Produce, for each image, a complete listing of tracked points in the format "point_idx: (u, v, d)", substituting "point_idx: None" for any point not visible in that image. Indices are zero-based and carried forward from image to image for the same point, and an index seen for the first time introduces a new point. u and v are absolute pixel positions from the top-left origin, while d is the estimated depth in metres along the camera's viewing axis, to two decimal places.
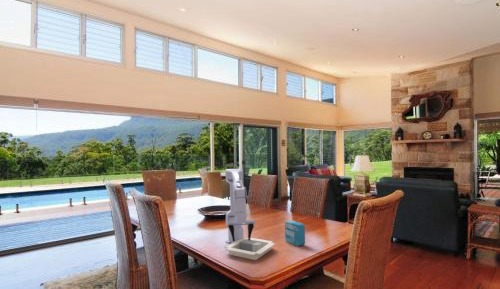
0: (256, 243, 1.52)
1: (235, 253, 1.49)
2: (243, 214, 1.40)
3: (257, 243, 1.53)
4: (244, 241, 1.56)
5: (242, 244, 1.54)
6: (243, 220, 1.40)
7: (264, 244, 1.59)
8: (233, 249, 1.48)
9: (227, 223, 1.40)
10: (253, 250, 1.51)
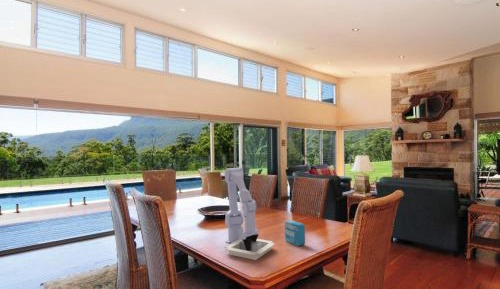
0: (256, 243, 1.52)
1: (235, 253, 1.49)
2: None
3: (257, 243, 1.53)
4: None
5: (242, 244, 1.54)
6: (255, 231, 1.54)
7: (264, 244, 1.59)
8: (233, 249, 1.48)
9: (245, 236, 1.48)
10: (253, 250, 1.51)
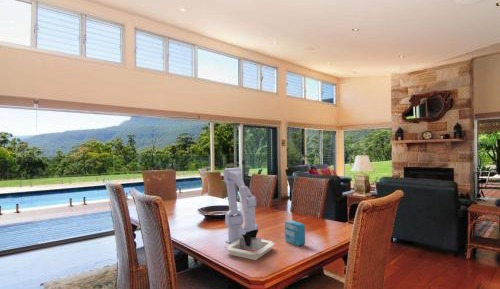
0: (256, 239, 1.52)
1: (235, 253, 1.49)
2: None
3: (257, 239, 1.53)
4: None
5: (242, 240, 1.54)
6: (255, 226, 1.54)
7: (264, 244, 1.59)
8: (233, 249, 1.48)
9: (245, 231, 1.48)
10: (253, 246, 1.51)
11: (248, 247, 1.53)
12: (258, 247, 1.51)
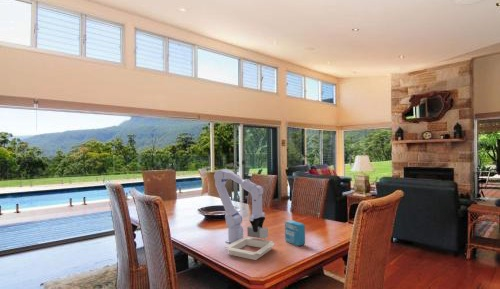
0: (263, 228, 1.61)
1: (235, 253, 1.49)
2: None
3: (264, 228, 1.62)
4: None
5: (250, 229, 1.64)
6: (262, 213, 1.64)
7: (264, 244, 1.59)
8: (233, 249, 1.48)
9: (252, 218, 1.58)
10: (260, 235, 1.60)
11: (255, 236, 1.62)
12: (265, 236, 1.60)
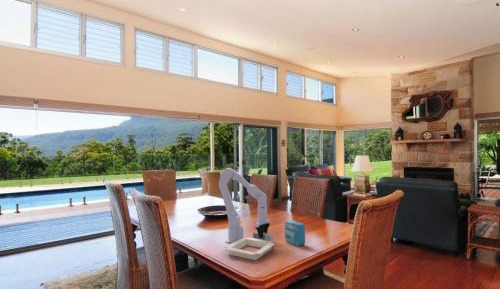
0: (268, 234, 1.68)
1: (235, 253, 1.49)
2: None
3: (269, 233, 1.69)
4: (257, 232, 1.73)
5: (255, 234, 1.71)
6: (267, 220, 1.71)
7: (264, 244, 1.59)
8: (233, 249, 1.48)
9: (258, 224, 1.65)
10: None
11: None
12: None
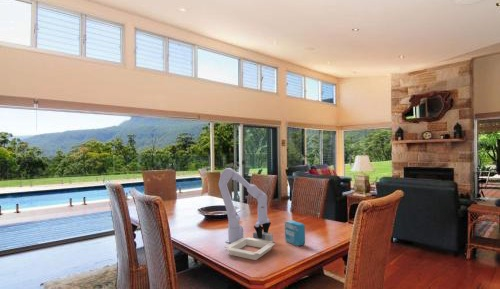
0: (268, 234, 1.68)
1: (235, 253, 1.49)
2: None
3: (269, 233, 1.69)
4: None
5: (255, 234, 1.71)
6: (267, 220, 1.71)
7: (264, 244, 1.59)
8: (233, 249, 1.48)
9: (258, 224, 1.65)
10: None
11: None
12: None
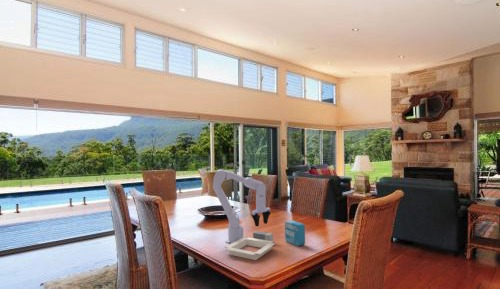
0: (268, 234, 1.68)
1: (235, 253, 1.49)
2: (265, 204, 1.72)
3: (269, 233, 1.69)
4: (257, 232, 1.73)
5: (255, 234, 1.71)
6: (265, 209, 1.72)
7: (264, 244, 1.59)
8: (233, 249, 1.48)
9: (254, 212, 1.67)
10: None
11: None
12: None
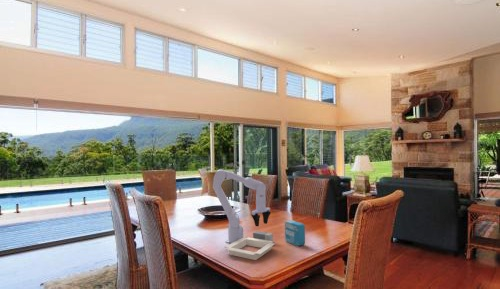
0: (268, 234, 1.68)
1: (235, 253, 1.49)
2: (265, 204, 1.72)
3: (269, 233, 1.69)
4: (257, 232, 1.73)
5: (255, 234, 1.71)
6: (265, 209, 1.72)
7: (264, 244, 1.59)
8: (233, 249, 1.48)
9: (254, 212, 1.67)
10: None
11: None
12: None
